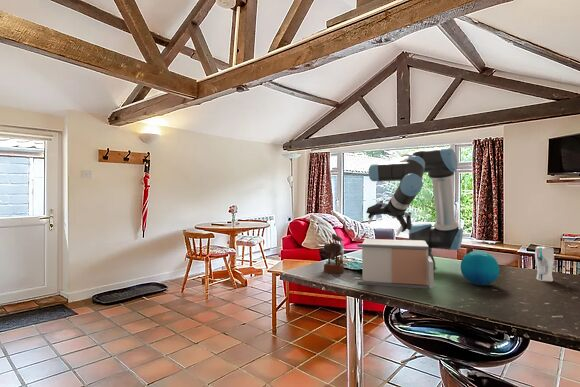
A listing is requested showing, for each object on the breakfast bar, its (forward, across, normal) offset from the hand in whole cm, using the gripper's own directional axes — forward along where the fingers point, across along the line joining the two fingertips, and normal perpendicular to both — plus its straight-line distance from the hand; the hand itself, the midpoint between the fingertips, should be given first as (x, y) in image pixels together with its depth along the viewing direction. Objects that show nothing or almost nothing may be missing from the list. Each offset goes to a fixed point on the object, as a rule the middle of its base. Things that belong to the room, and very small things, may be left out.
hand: (383, 227), depth 154 cm
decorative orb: (+5, +48, -5) cm, 48 cm away
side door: (+1, +19, -22) cm, 29 cm away
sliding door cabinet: (+15, +14, -16) cm, 26 cm away
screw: (+47, -9, -3) cm, 48 cm away
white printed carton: (+7, +77, +12) cm, 78 cm away
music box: (+34, -13, -15) cm, 40 cm away
